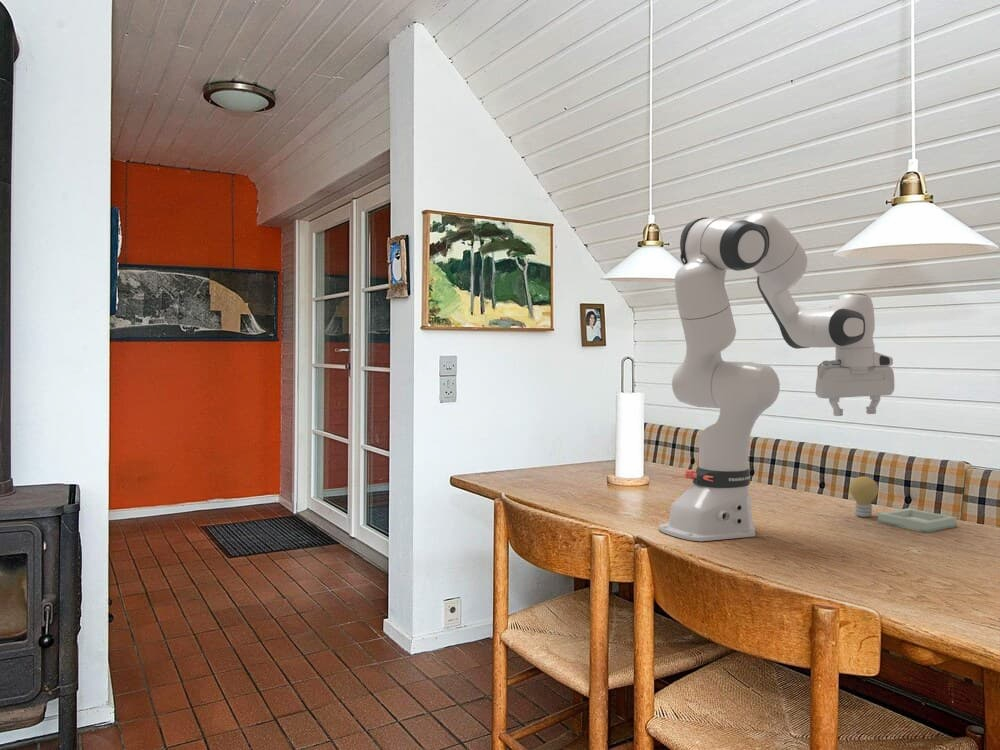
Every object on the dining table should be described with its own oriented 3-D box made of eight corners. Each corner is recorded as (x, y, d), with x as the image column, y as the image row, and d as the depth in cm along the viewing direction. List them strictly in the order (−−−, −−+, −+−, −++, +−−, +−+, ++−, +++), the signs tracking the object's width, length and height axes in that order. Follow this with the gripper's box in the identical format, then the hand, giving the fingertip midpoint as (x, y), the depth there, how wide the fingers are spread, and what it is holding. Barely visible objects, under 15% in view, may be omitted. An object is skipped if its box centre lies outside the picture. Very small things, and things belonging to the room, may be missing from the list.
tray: (926, 532, 176) (926, 523, 176) (877, 522, 187) (877, 513, 187) (956, 526, 182) (957, 517, 182) (908, 516, 192) (908, 508, 192)
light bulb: (848, 517, 192) (849, 477, 192) (850, 512, 198) (850, 473, 197) (877, 520, 189) (877, 479, 189) (878, 515, 195) (878, 475, 194)
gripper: (826, 361, 187) (826, 418, 187) (898, 358, 191) (898, 414, 192) (809, 360, 193) (810, 415, 193) (880, 357, 197) (880, 411, 198)
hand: (854, 414), depth 193 cm, fingers open, 8 cm apart
